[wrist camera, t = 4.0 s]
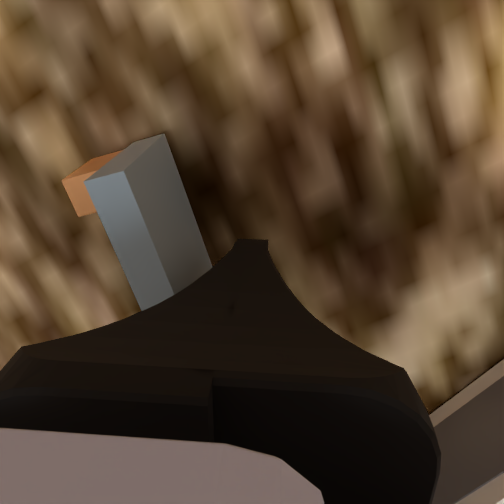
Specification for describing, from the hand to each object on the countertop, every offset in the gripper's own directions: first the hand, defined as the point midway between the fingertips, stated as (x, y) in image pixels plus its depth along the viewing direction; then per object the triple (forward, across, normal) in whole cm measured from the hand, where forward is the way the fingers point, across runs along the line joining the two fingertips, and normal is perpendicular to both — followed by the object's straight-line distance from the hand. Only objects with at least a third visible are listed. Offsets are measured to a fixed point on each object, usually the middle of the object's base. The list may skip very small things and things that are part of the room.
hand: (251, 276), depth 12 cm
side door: (+1, +1, +3) cm, 4 cm away
